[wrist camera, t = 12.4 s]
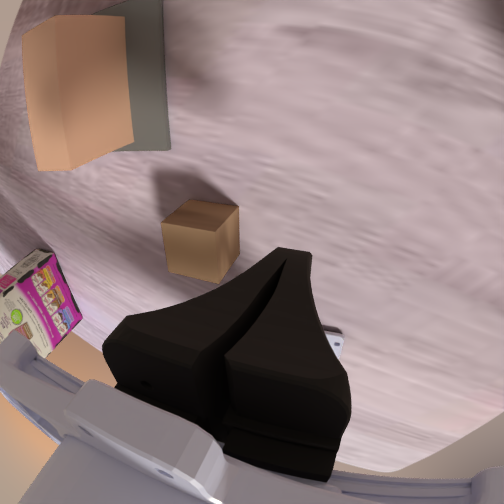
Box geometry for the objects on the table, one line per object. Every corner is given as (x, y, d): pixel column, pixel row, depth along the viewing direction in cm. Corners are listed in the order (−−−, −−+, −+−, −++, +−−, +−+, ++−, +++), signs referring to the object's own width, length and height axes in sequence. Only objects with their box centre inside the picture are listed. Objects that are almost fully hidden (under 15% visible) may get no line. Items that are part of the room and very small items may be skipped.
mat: (171, 148, 22) (167, 150, 21) (81, 151, 25) (77, 153, 24) (162, -8, 15) (158, -9, 15) (69, 26, 18) (64, 26, 18)
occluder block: (134, 141, 22) (71, 170, 17) (98, 143, 23) (38, 171, 18) (124, 16, 17) (55, 15, 11) (88, 29, 18) (21, 35, 13)
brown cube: (240, 253, 25) (218, 283, 22) (192, 244, 26) (166, 271, 23) (239, 205, 23) (215, 231, 19) (188, 198, 24) (158, 222, 21)
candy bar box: (35, 246, 36) (-51, 319, 23) (55, 251, 34) (-40, 332, 21) (64, 311, 41) (-5, 384, 28) (84, 319, 40) (12, 400, 27)
